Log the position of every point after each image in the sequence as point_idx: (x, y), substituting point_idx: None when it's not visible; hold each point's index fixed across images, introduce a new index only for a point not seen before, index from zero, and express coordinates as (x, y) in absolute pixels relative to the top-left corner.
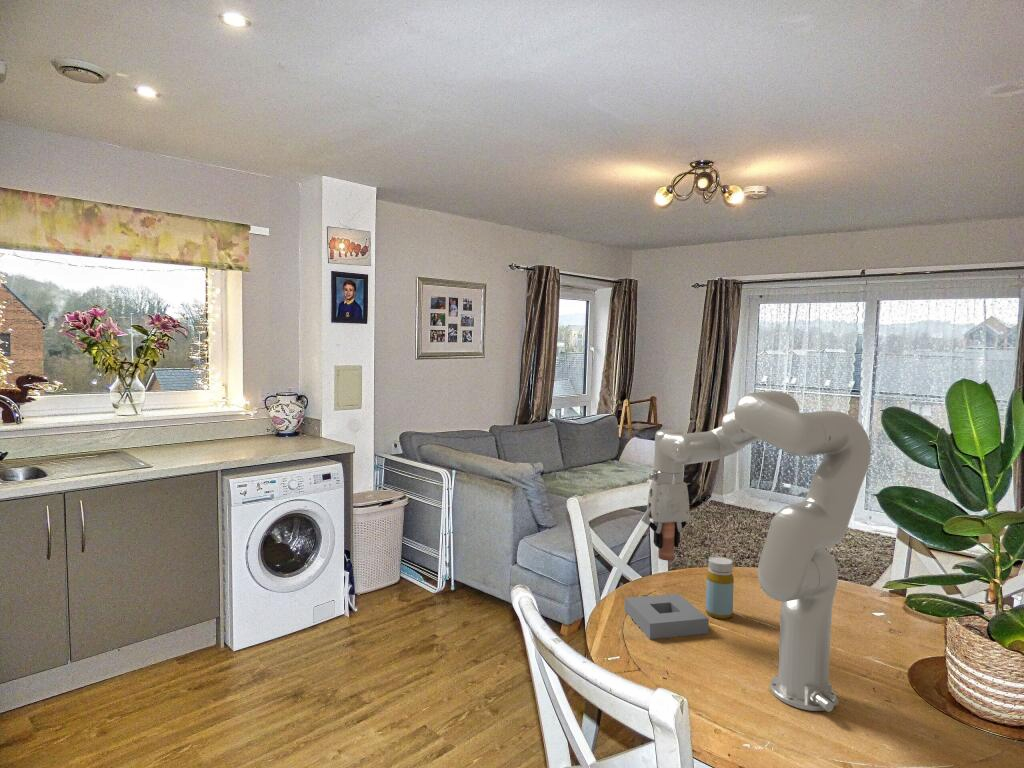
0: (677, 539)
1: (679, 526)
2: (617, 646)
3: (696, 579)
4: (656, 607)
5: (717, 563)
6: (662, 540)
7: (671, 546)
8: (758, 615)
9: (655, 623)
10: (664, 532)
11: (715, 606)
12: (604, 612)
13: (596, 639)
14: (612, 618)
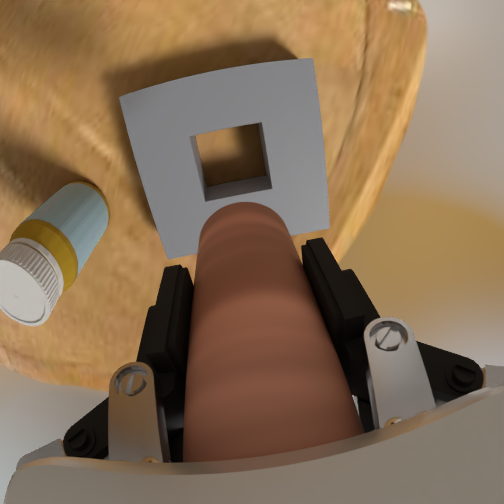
0: (167, 303)
1: (131, 415)
2: (384, 44)
3: (117, 359)
4: (248, 188)
5: (20, 267)
6: (307, 290)
7: (226, 252)
8: (13, 210)
9: (295, 59)
10: (317, 339)
11: (83, 195)
12: (363, 212)
13: (417, 84)
14: (356, 180)
